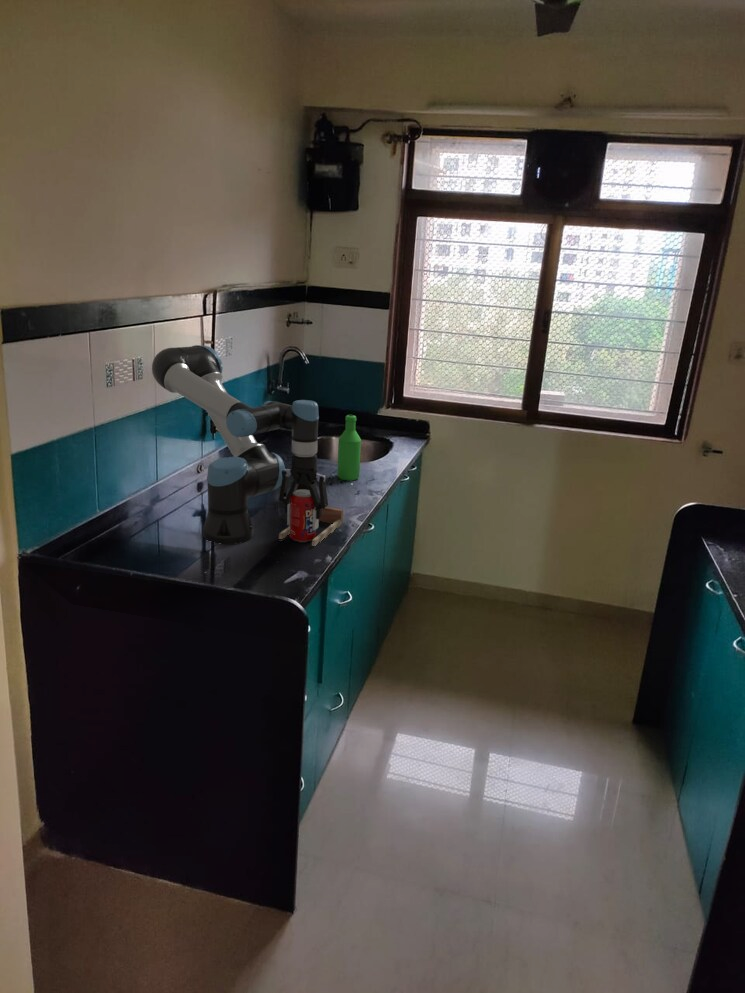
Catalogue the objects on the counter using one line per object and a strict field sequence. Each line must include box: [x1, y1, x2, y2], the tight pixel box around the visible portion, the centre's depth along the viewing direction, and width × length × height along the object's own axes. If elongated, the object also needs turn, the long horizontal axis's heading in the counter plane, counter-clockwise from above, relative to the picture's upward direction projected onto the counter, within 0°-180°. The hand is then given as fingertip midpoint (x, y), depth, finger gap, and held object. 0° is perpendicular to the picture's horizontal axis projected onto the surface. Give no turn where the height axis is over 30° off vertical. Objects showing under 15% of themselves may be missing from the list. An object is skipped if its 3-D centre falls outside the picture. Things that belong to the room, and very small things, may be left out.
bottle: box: [336, 414, 362, 482], centre depth 274 cm, size 9×9×25 cm
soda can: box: [289, 489, 317, 543], centre depth 213 cm, size 8×8×15 cm
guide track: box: [278, 506, 344, 547], centre depth 221 cm, size 22×12×5 cm, turn 160°
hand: (302, 526), depth 214 cm, fingers closed on soda can, 8 cm apart
